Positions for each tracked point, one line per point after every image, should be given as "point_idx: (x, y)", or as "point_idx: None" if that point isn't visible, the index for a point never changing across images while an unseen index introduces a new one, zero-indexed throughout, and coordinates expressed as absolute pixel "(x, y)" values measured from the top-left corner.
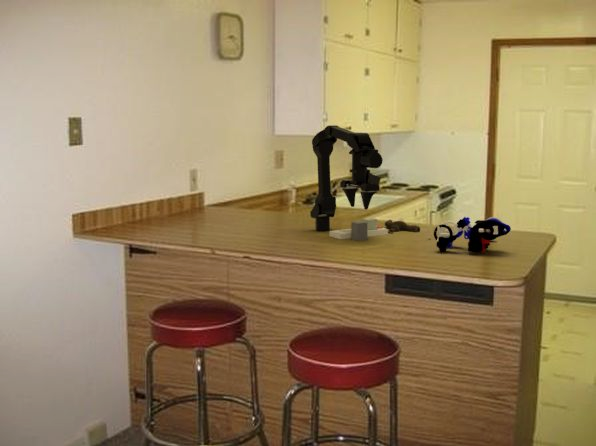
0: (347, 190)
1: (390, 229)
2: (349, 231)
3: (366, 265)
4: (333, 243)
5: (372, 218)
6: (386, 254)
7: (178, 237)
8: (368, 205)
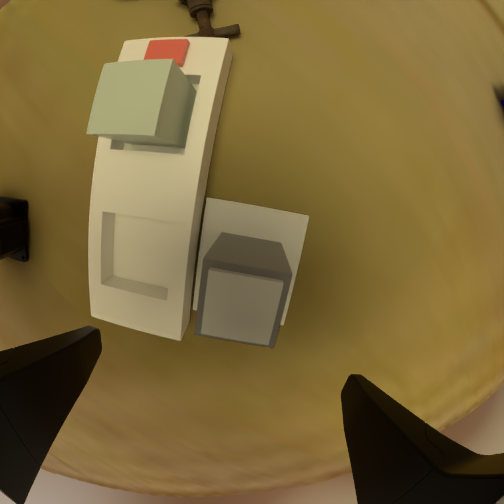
0: (17, 486)
1: (199, 8)
2: (107, 214)
3: (451, 423)
4: (203, 361)
5: (126, 67)
6: (457, 340)
7: None
8: (385, 399)
